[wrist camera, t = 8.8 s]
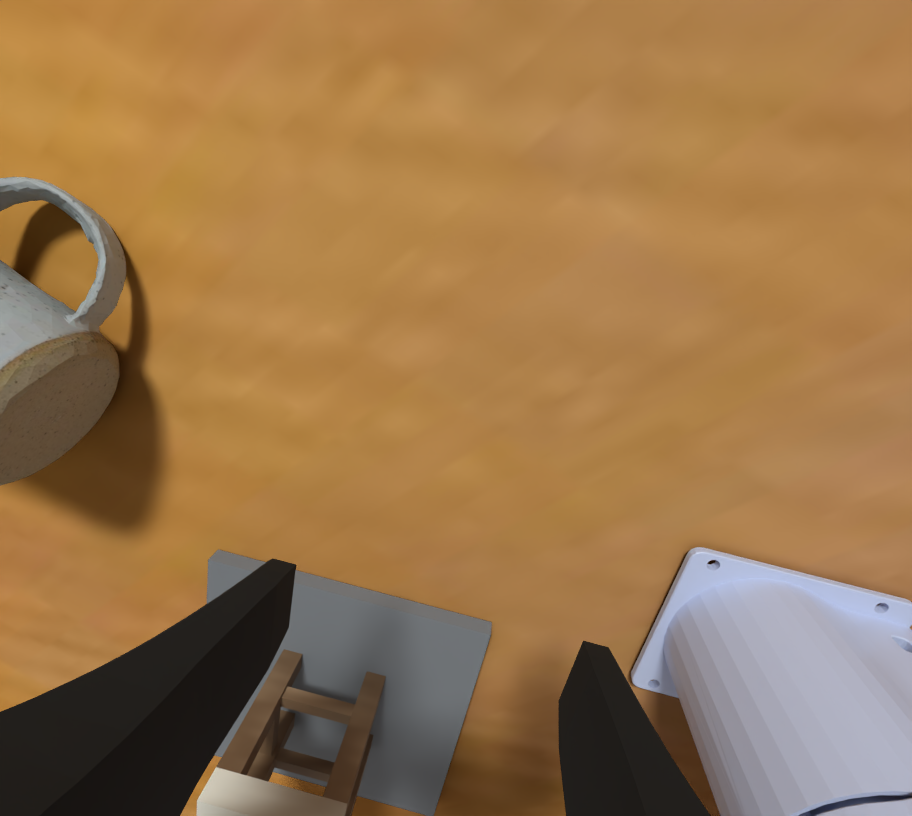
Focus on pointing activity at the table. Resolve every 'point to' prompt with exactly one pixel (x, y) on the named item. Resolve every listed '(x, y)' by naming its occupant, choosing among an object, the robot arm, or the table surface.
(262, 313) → the table surface
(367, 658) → the mat
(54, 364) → the ceramic mug
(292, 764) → the stool
